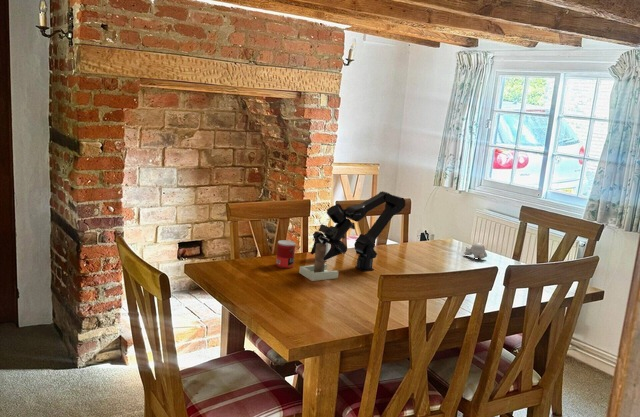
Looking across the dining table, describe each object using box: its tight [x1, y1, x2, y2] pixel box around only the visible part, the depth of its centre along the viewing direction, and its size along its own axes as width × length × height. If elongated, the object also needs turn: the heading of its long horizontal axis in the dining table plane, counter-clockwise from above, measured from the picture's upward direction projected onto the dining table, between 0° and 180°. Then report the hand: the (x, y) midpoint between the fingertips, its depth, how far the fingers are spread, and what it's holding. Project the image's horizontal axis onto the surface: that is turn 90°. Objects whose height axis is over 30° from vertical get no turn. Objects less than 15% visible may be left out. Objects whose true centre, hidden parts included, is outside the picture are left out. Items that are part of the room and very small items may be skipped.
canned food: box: [275, 239, 296, 269], centre depth 259 cm, size 8×8×11 cm
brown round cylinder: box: [313, 243, 326, 273], centre depth 249 cm, size 4×4×13 cm
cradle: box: [298, 263, 340, 282], centre depth 250 cm, size 13×11×3 cm
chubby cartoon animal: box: [462, 242, 488, 260], centre depth 300 cm, size 7×12×8 cm, turn 50°
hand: (317, 256), depth 248 cm, fingers open, 9 cm apart
